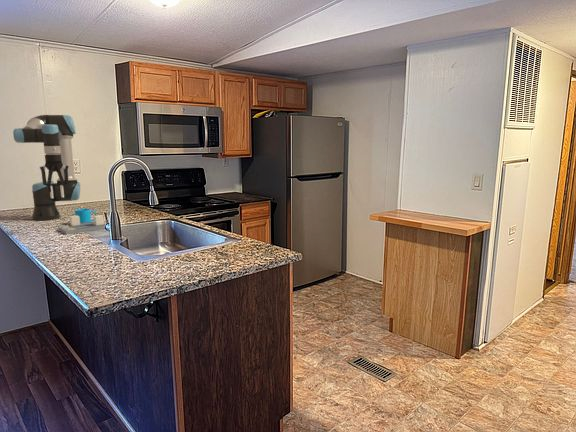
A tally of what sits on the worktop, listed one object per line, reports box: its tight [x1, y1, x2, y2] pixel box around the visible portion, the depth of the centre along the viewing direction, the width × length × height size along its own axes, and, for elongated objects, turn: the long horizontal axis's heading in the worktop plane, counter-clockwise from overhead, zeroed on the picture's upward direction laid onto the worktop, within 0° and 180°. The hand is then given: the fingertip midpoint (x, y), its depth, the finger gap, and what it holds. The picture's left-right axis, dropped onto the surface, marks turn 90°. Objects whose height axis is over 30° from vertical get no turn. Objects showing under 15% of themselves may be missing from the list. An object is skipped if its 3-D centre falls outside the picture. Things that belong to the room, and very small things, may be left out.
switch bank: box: [57, 220, 107, 236], centre depth 229 cm, size 14×26×2 cm, turn 134°
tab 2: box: [92, 214, 105, 226], centre depth 229 cm, size 4×4×5 cm
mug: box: [74, 208, 98, 223], centre depth 245 cm, size 12×8×8 cm
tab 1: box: [69, 215, 80, 226], centre depth 228 cm, size 4×4×5 cm
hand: (57, 197), depth 220 cm, fingers open, 4 cm apart
